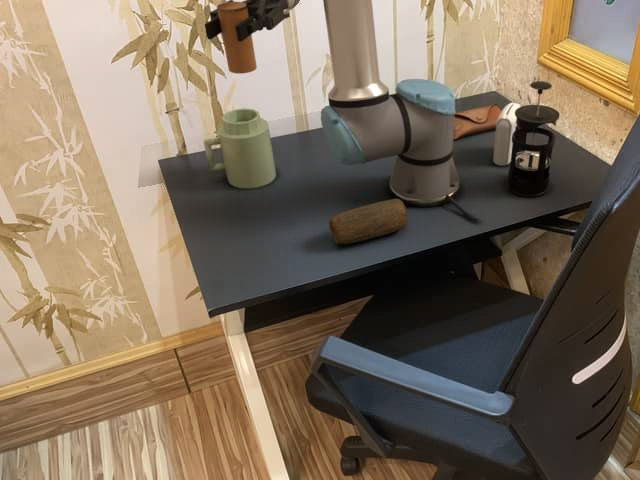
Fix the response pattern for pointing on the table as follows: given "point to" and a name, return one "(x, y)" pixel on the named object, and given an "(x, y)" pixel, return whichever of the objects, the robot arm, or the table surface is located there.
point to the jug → (243, 149)
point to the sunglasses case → (475, 121)
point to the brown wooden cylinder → (368, 221)
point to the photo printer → (505, 134)
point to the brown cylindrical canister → (236, 51)
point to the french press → (532, 148)
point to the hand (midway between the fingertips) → (223, 32)
